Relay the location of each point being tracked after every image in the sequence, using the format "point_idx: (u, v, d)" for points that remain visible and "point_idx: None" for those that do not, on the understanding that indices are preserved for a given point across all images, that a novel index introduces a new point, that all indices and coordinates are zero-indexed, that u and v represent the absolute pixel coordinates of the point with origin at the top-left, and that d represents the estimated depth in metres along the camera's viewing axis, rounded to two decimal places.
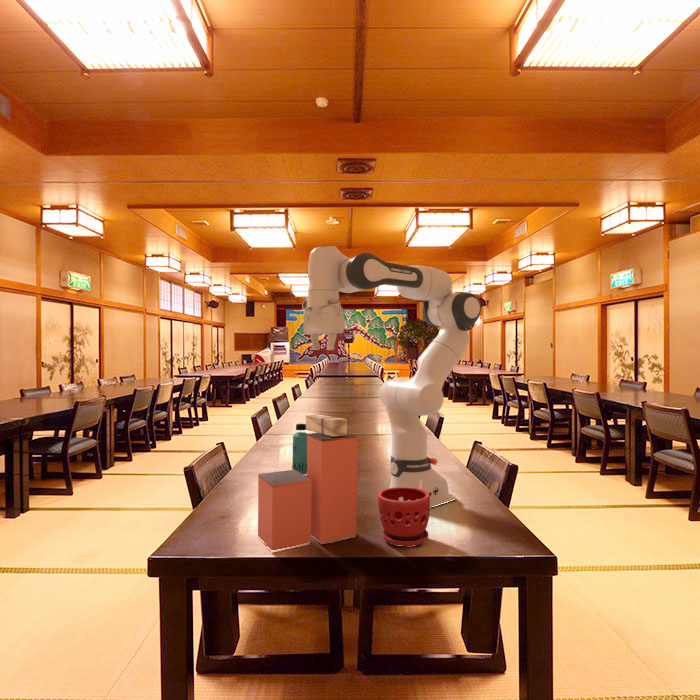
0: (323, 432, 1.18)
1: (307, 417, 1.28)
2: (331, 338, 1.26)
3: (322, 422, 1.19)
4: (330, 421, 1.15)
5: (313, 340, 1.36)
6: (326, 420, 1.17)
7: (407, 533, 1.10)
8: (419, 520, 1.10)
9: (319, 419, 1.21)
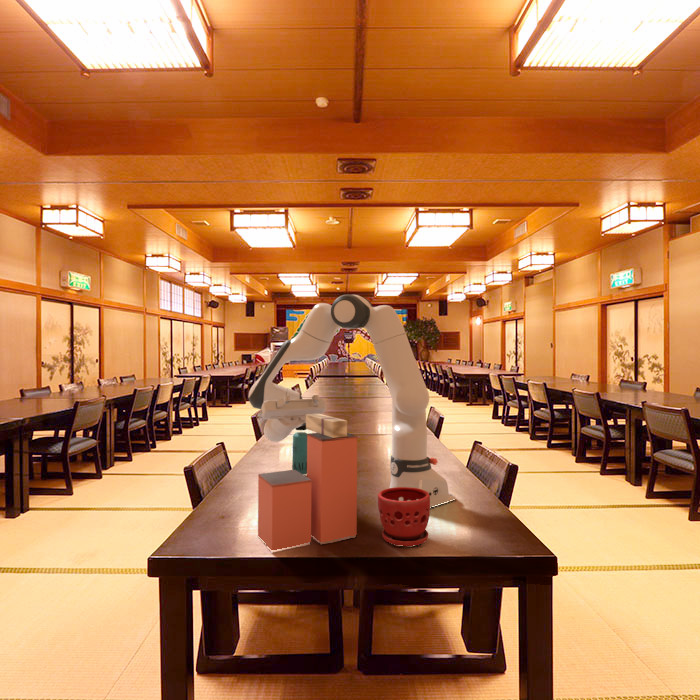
0: (323, 433, 1.18)
1: (307, 416, 1.28)
2: (278, 404, 1.35)
3: (322, 422, 1.19)
4: (330, 422, 1.15)
5: (315, 402, 1.41)
6: (326, 421, 1.17)
7: (407, 533, 1.10)
8: (419, 520, 1.10)
9: (319, 419, 1.21)
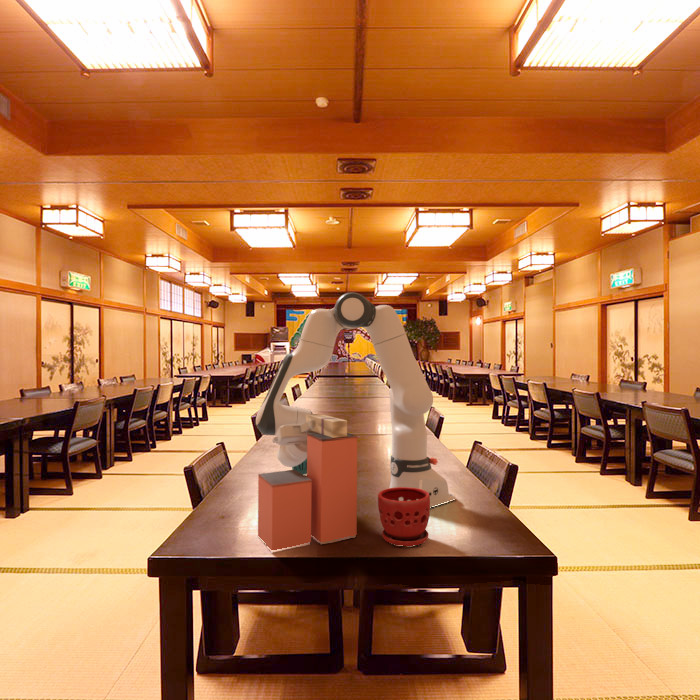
0: (323, 433, 1.18)
1: (307, 416, 1.28)
2: (303, 429, 1.24)
3: (322, 422, 1.19)
4: (330, 422, 1.15)
5: None
6: (326, 421, 1.17)
7: (407, 533, 1.10)
8: (419, 520, 1.10)
9: (319, 419, 1.21)
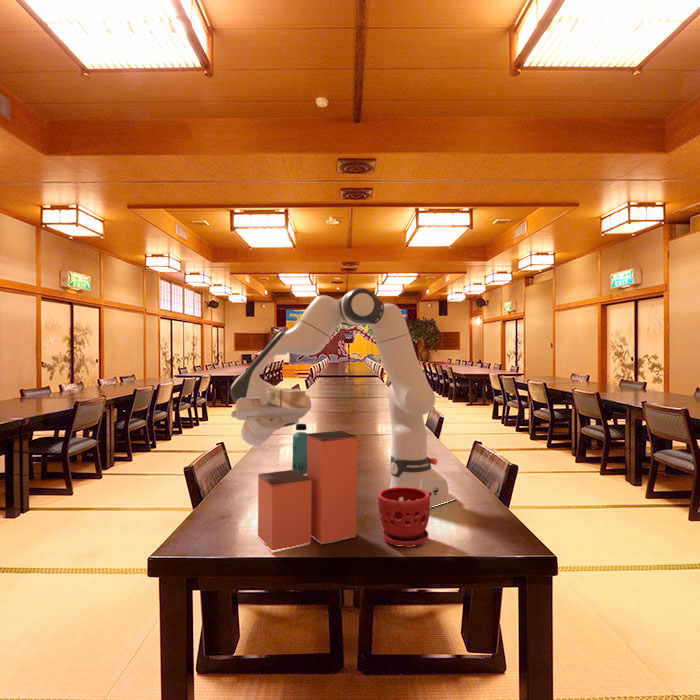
0: (281, 404, 1.12)
1: (268, 389, 1.21)
2: (262, 401, 1.17)
3: (281, 393, 1.12)
4: (287, 392, 1.08)
5: None
6: (284, 392, 1.10)
7: (407, 533, 1.10)
8: (419, 520, 1.10)
9: (278, 391, 1.14)
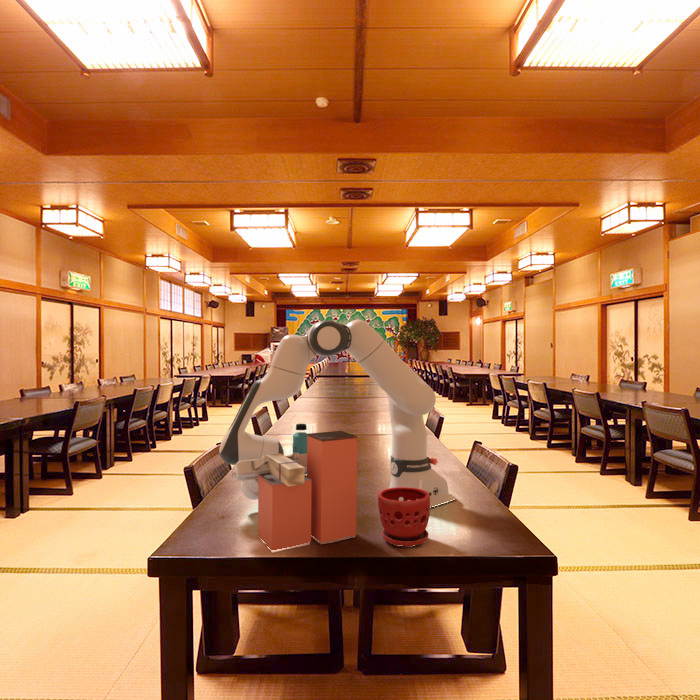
0: (280, 479, 1.11)
1: None
2: (256, 465, 1.17)
3: (280, 467, 1.12)
4: (286, 469, 1.08)
5: None
6: (283, 467, 1.10)
7: (407, 533, 1.10)
8: (419, 520, 1.10)
9: (277, 463, 1.14)
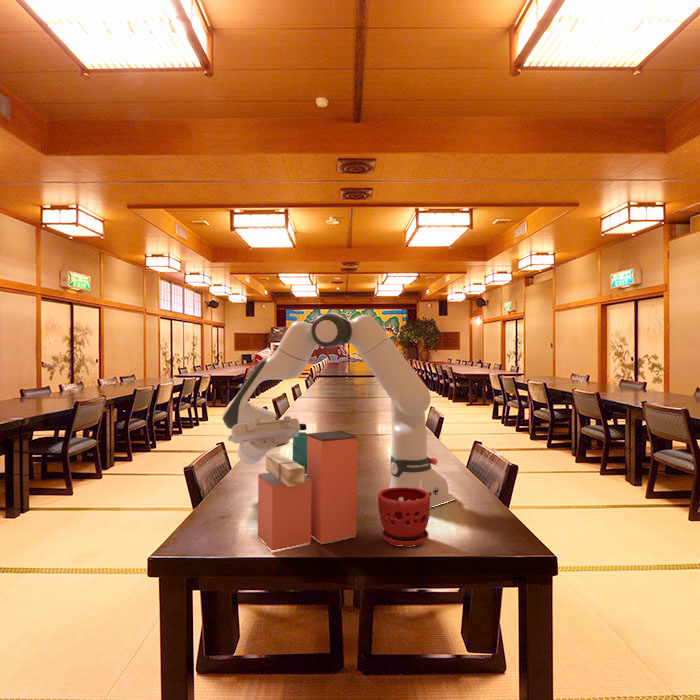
0: (280, 479, 1.11)
1: (267, 457, 1.20)
2: (248, 427, 1.30)
3: (280, 467, 1.12)
4: (286, 469, 1.08)
5: (288, 424, 1.36)
6: (283, 467, 1.10)
7: (407, 533, 1.10)
8: (419, 520, 1.10)
9: (277, 463, 1.14)
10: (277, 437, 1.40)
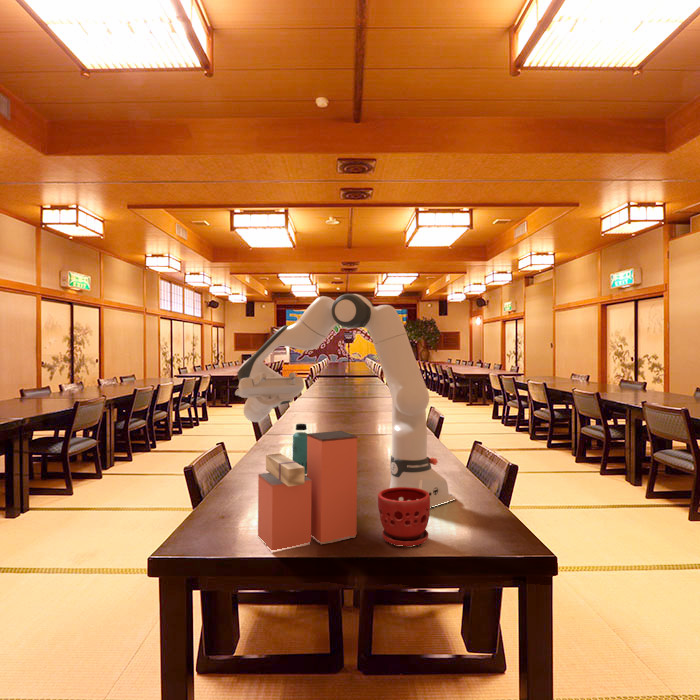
0: (280, 479, 1.11)
1: (267, 457, 1.20)
2: (255, 381, 1.36)
3: (280, 467, 1.12)
4: (286, 469, 1.08)
5: (292, 380, 1.42)
6: (283, 467, 1.10)
7: (407, 533, 1.10)
8: (419, 520, 1.10)
9: (277, 463, 1.14)
10: (282, 394, 1.46)
